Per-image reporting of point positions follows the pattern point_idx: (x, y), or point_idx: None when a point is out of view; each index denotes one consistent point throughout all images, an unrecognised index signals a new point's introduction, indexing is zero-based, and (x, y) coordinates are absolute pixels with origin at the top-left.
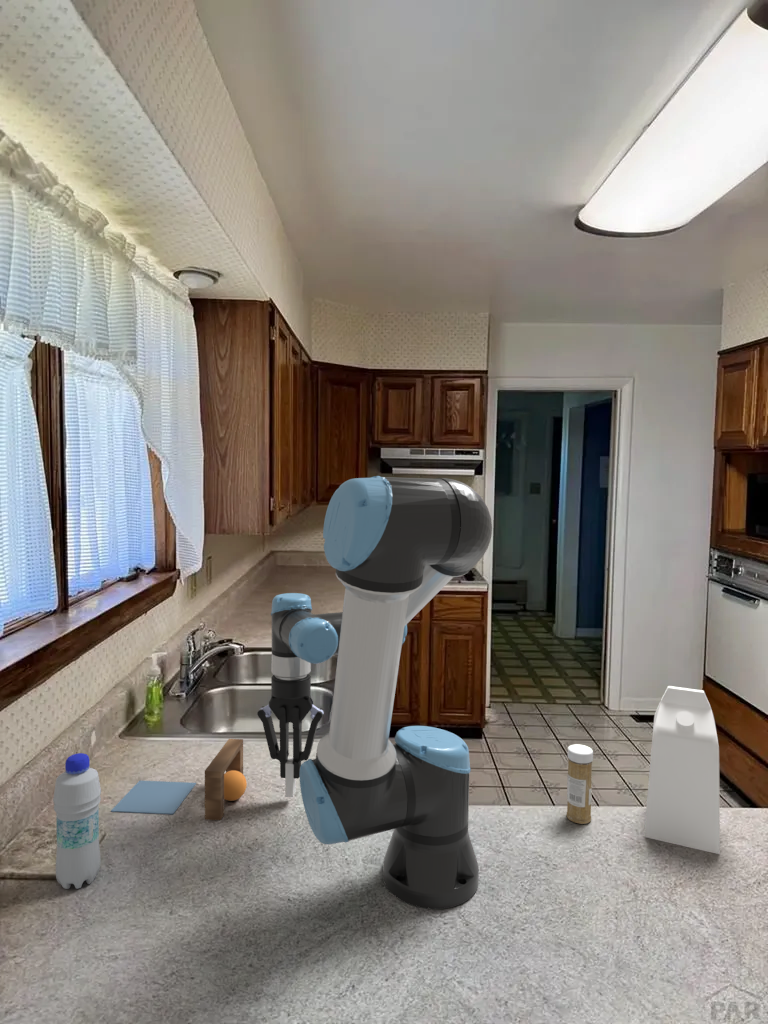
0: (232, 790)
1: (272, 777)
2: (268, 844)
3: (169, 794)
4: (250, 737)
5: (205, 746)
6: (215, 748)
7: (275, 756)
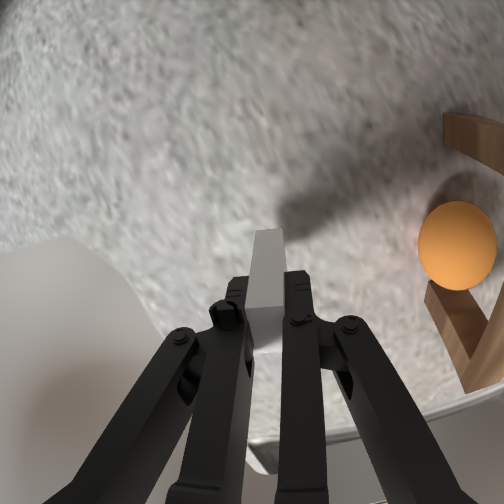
0: (456, 210)
1: None
2: (250, 7)
3: None
4: None
5: None
6: None
7: (340, 327)
